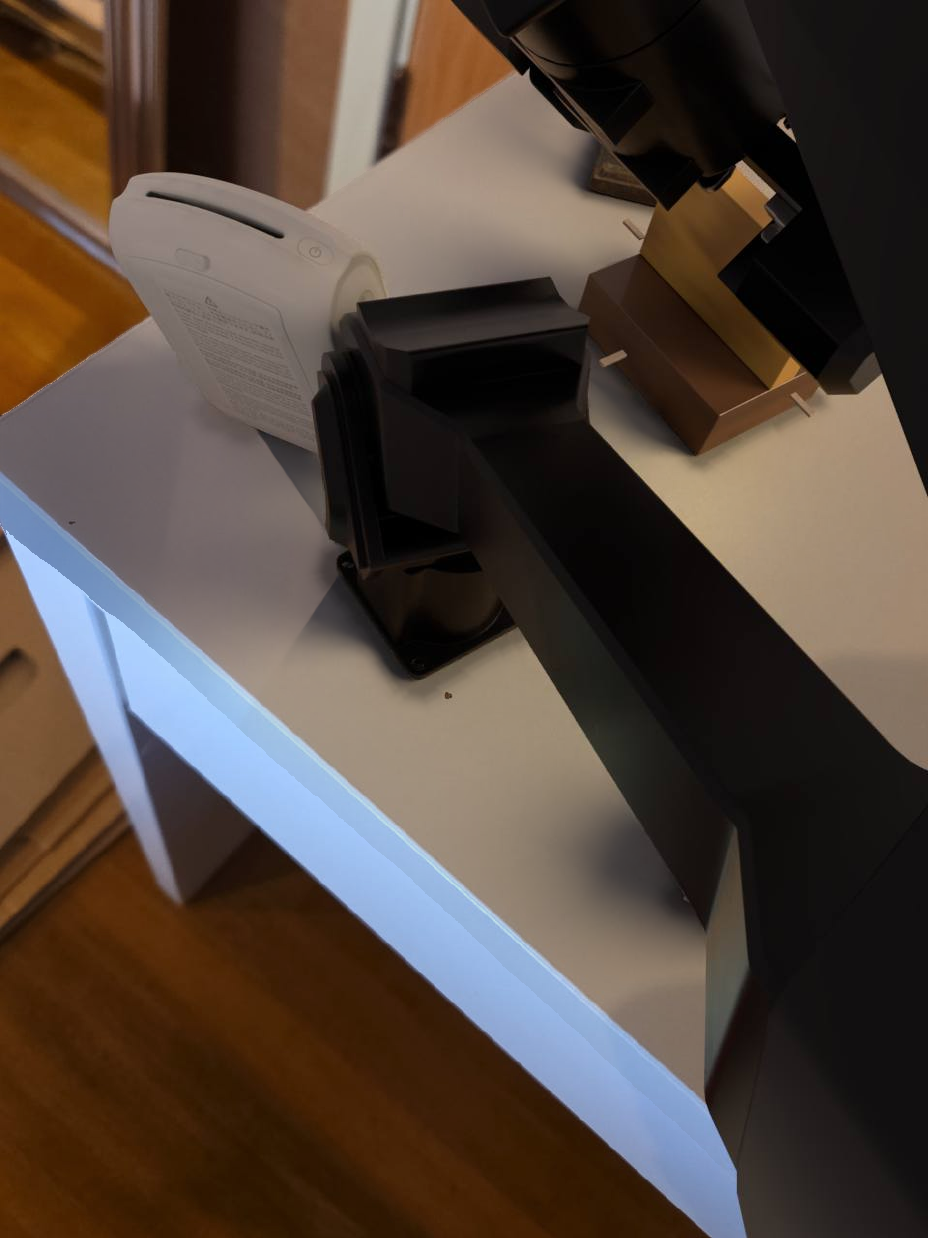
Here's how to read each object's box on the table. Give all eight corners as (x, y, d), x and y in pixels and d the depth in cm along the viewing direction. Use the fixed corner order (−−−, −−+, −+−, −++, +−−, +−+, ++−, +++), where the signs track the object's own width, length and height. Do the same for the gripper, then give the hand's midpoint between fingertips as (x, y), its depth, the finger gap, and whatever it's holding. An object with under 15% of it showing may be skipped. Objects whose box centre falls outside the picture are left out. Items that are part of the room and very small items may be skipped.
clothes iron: (586, 207, 55) (619, 6, 48) (595, 131, 63) (625, -53, 56) (710, 223, 55) (762, 23, 48) (704, 145, 63) (749, -38, 55)
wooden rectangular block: (793, 378, 46) (857, 275, 41) (769, 390, 46) (831, 287, 40) (662, 242, 49) (705, 130, 44) (638, 252, 49) (679, 139, 43)
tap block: (881, 404, 50) (914, 361, 48) (676, 514, 45) (699, 473, 42) (706, 228, 55) (727, 180, 52) (502, 310, 50) (513, 262, 47)
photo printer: (437, 410, 43) (382, 200, 32) (391, 490, 42) (317, 303, 30) (244, 337, 46) (128, 119, 34) (196, 410, 45) (60, 210, 33)
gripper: (1336, -200, 16) (1184, 192, 29) (628, -623, 22) (776, -134, 35) (778, 324, 20) (873, 453, 33) (314, -155, 26) (555, 121, 39)
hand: (767, 207), depth 35 cm, fingers open, 6 cm apart
